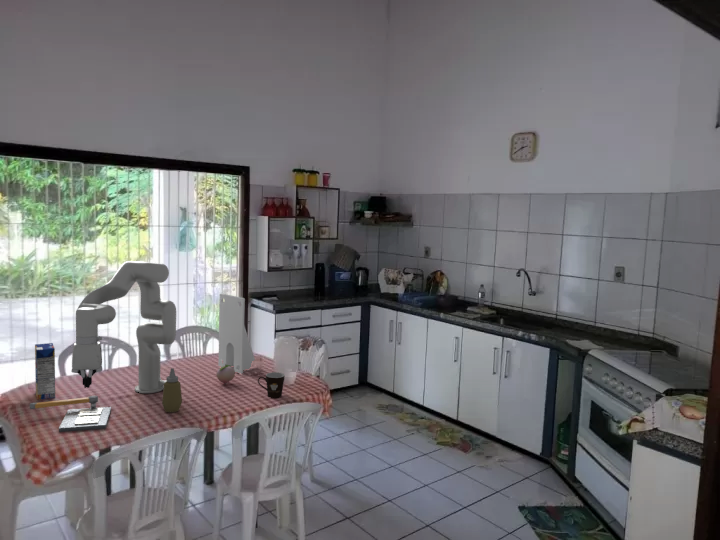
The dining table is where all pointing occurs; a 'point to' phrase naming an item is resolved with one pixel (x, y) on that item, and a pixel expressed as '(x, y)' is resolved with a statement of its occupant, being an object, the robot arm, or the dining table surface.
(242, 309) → the white bracket plate
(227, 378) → the decorative fruit
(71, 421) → the label base
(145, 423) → the dining table surface
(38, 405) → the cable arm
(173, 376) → the squeeze bottle
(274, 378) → the coffee mug
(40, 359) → the beverage box
